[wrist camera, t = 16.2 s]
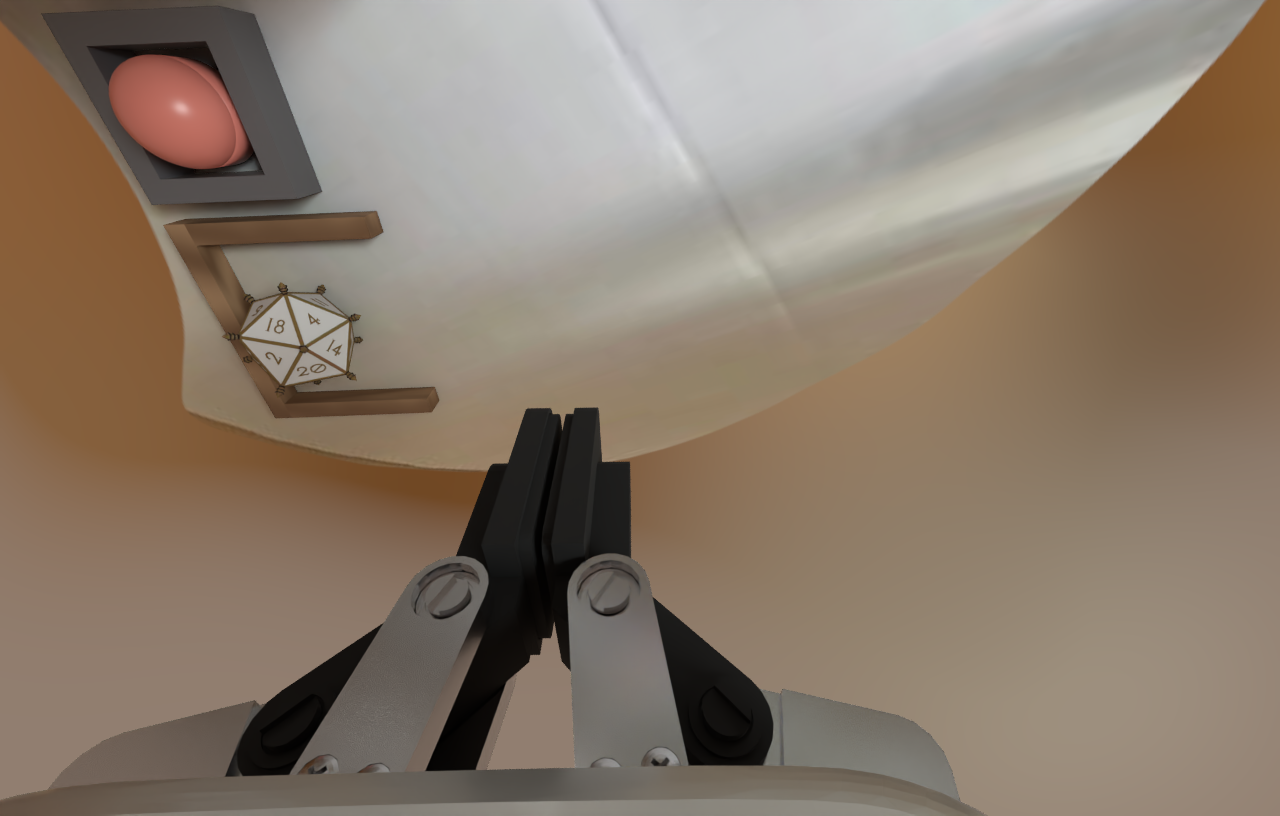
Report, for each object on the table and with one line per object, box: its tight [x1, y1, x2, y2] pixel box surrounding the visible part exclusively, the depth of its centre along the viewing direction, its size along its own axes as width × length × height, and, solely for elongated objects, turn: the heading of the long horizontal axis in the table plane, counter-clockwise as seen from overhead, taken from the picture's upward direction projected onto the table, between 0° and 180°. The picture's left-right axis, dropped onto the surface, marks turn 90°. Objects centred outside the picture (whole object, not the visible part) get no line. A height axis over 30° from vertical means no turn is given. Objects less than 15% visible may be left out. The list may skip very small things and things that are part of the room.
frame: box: [163, 211, 439, 418], centre depth 39 cm, size 17×14×2 cm
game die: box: [222, 283, 363, 398], centre depth 36 cm, size 9×8×10 cm
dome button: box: [109, 55, 254, 169], centre depth 29 cm, size 6×6×6 cm
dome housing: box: [42, 6, 322, 205], centre depth 30 cm, size 10×10×3 cm
